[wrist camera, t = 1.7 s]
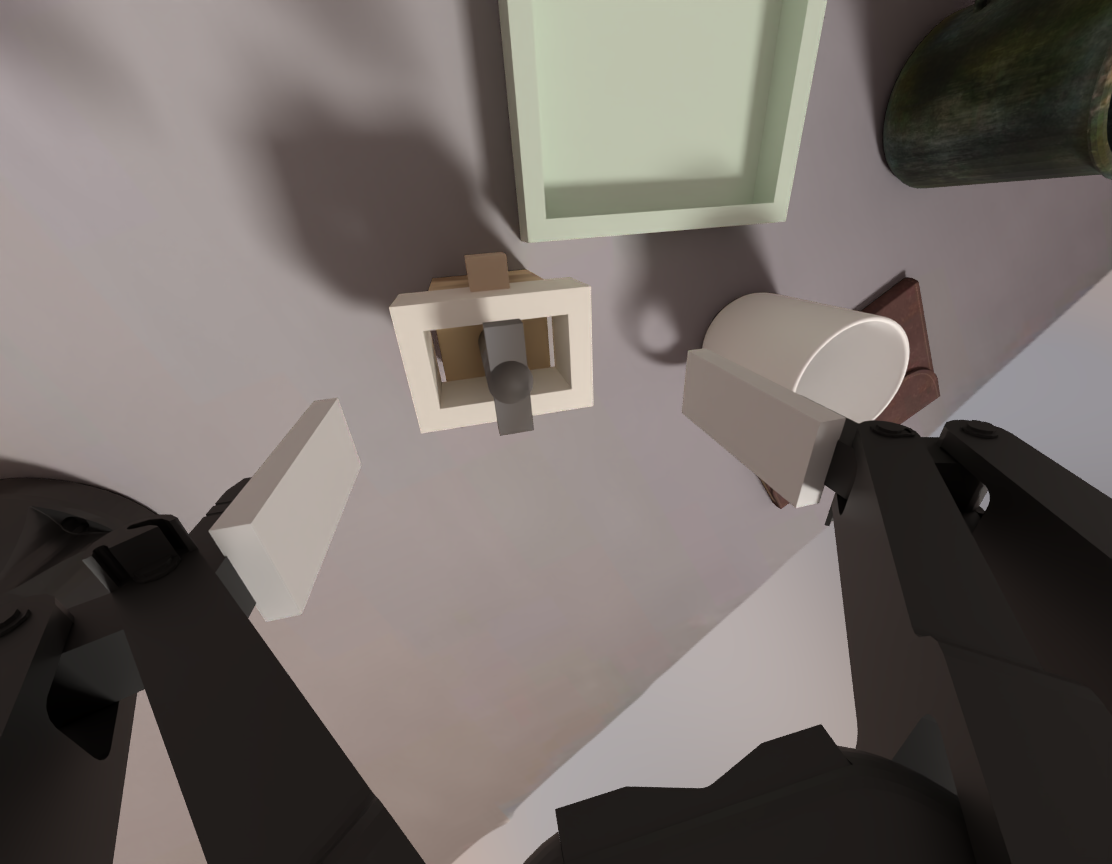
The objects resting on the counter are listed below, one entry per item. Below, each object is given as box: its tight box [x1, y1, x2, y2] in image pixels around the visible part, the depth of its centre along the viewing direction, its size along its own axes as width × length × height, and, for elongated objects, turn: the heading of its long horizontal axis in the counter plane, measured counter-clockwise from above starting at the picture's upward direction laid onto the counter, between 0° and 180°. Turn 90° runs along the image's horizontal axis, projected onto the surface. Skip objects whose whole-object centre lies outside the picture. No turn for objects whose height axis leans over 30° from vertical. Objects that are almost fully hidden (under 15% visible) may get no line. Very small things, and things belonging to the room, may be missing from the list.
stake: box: [428, 269, 550, 436], centre depth 23 cm, size 6×6×13 cm
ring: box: [389, 252, 593, 433], centre depth 21 cm, size 9×8×4 cm
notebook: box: [760, 277, 940, 509], centre depth 40 cm, size 15×20×2 cm
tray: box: [498, 0, 827, 243], centre depth 23 cm, size 18×18×3 cm
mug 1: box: [702, 293, 910, 423], centre depth 30 cm, size 9×12×11 cm
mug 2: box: [883, 0, 1112, 188], centre depth 23 cm, size 11×15×12 cm
